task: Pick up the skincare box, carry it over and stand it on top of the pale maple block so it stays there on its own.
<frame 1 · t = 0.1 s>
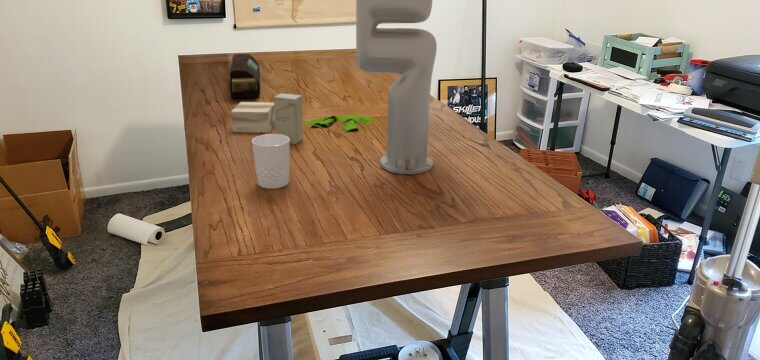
hand: (410, 7, 163), 31 cm above the table, tool pointing down, fingers open, 9 cm apart
skincare box: (289, 141, 149), on the table
white cup: (273, 183, 123), on the table
maple block: (255, 127, 159), on the table
cloth: (337, 127, 162), on the table
packaged item: (246, 88, 201), on the table
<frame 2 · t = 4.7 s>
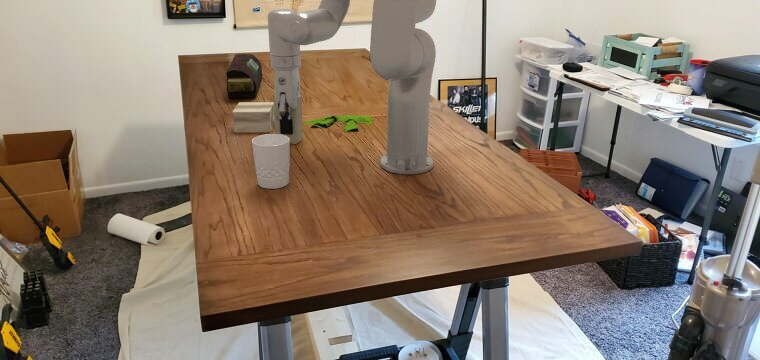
hand: (289, 129, 148), 3 cm above the table, tool pointing down, fingers closed on skincare box, 5 cm apart
skincare box: (289, 141, 149), on the table, touching gripper
when the fingers open (10 cm above the table, at t = 9.1 s): skincare box stays where it is, resting on maple block.
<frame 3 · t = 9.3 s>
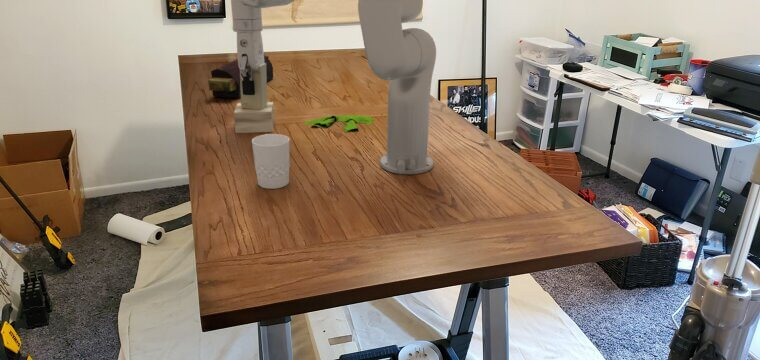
hand: (252, 90, 155), 10 cm above the table, tool pointing down, fingers open, 7 cm apart
skincare box: (254, 107, 157), point 6 cm above the table, touching maple block
maple block: (255, 127, 159), on the table, touching skincare box
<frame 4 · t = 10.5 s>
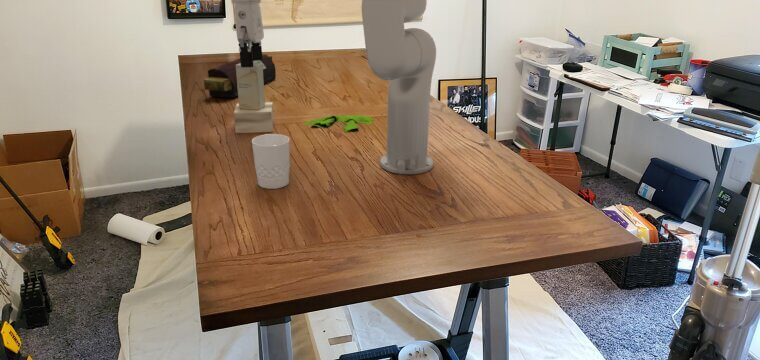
hand: (252, 63, 152), 18 cm above the table, tool pointing down, fingers open, 9 cm apart
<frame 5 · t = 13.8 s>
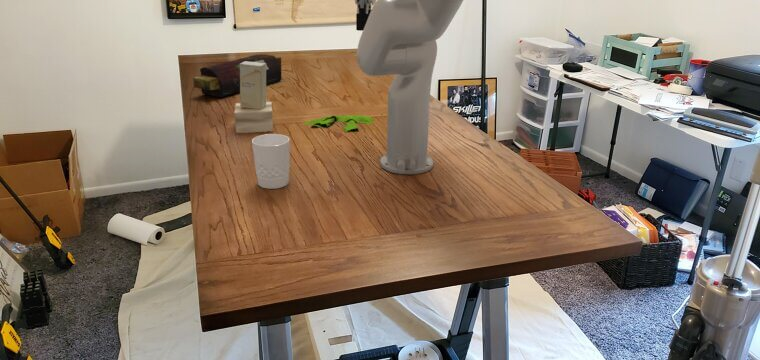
hand: (364, 27, 145), 28 cm above the table, tool pointing down, fingers open, 9 cm apart
at the end: skincare box inside the target area on the maple block (0.1 cm from its centre), point 6.0 cm above the maple block's base; skincare box tilted 3°; the gripper is holding nothing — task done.
